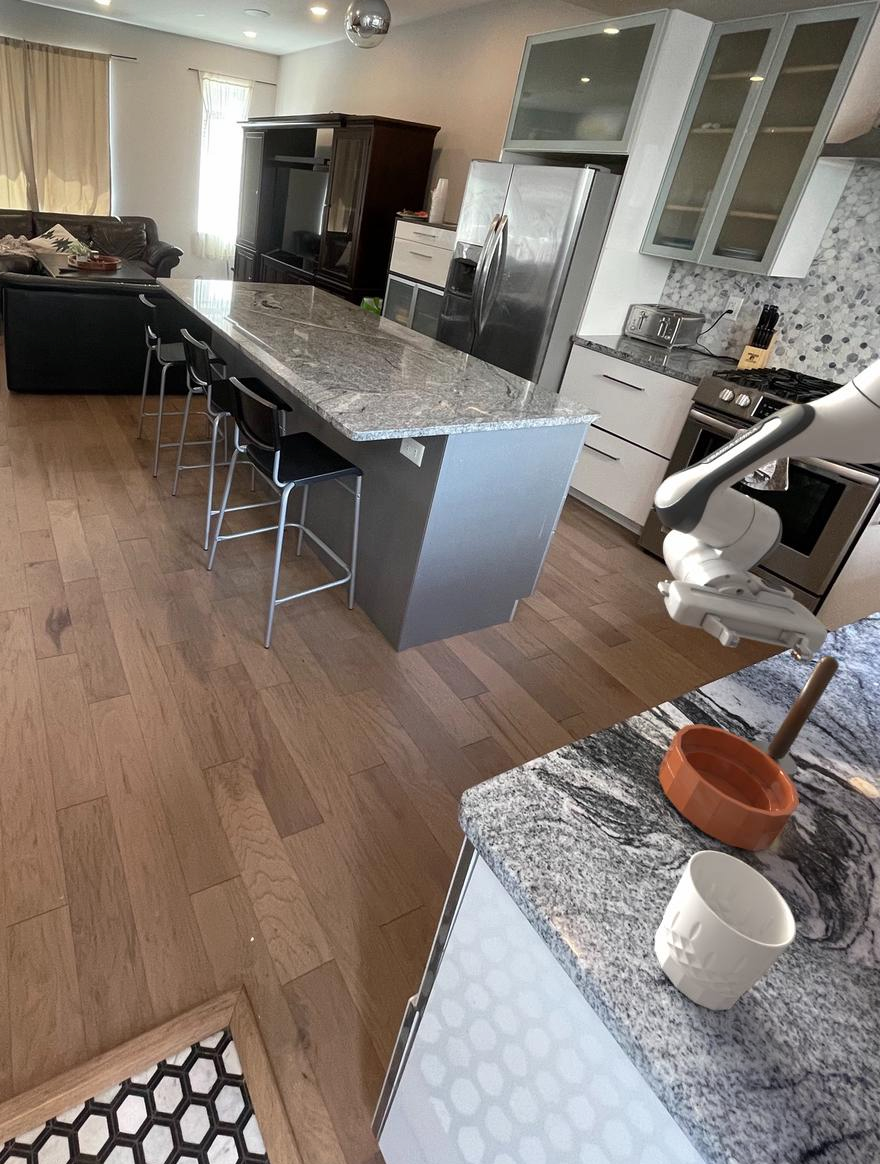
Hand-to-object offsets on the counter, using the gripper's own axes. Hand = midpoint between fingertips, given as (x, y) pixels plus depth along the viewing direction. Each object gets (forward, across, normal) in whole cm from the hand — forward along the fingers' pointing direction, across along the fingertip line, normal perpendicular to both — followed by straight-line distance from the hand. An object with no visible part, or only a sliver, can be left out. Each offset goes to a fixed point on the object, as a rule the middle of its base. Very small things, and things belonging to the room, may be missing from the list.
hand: (769, 650), depth 84 cm
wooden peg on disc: (+9, 0, +11) cm, 15 cm away
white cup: (+37, -20, +12) cm, 44 cm away
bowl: (+17, -10, +11) cm, 23 cm away
